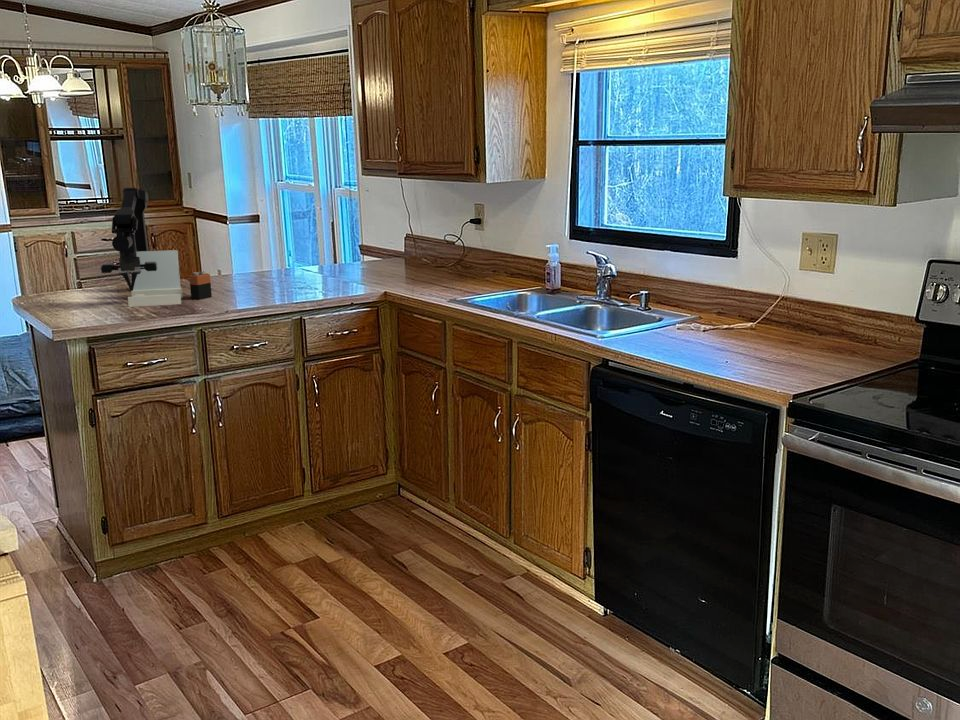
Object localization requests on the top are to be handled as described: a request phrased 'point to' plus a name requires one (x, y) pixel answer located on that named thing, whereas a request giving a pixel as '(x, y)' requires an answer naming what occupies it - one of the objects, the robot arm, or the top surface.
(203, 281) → the battery
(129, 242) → the robot arm
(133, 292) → the white slat
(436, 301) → the top surface
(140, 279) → the cover
